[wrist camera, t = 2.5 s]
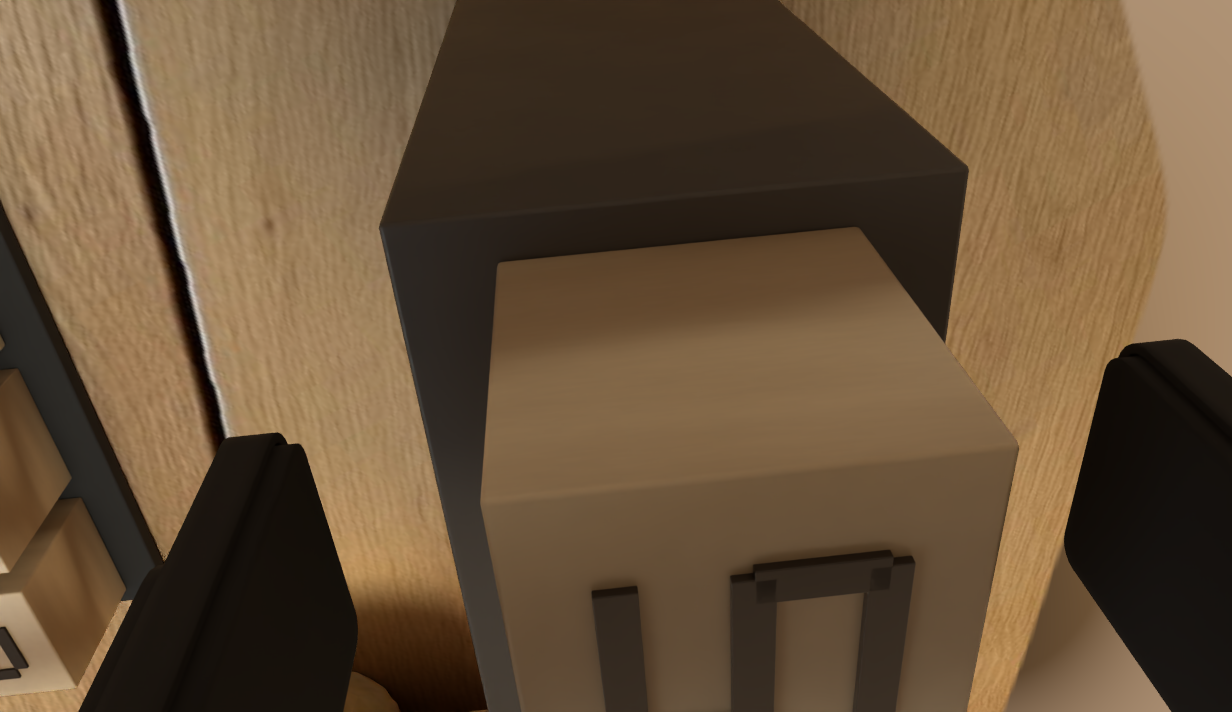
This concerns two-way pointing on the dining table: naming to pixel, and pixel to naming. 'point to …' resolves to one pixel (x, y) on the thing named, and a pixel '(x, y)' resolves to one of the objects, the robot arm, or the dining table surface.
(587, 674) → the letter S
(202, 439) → the dining table surface
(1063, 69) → the dining table surface
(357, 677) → the ammonite fossil
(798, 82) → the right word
